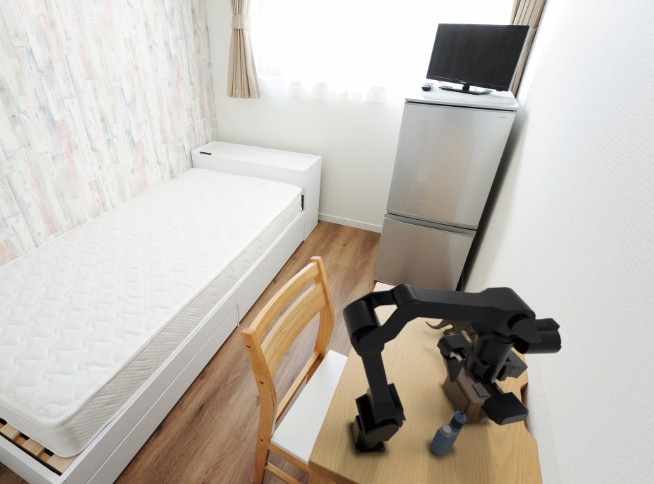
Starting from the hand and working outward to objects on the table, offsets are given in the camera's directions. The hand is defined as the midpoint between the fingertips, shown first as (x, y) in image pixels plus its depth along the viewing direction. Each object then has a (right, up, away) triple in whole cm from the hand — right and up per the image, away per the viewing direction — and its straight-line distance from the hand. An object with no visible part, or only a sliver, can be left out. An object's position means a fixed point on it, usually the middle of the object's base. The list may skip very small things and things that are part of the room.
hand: (465, 400), depth 72 cm
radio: (+7, -7, +14) cm, 17 cm away
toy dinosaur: (+16, +3, +33) cm, 37 cm away
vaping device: (-3, -13, +5) cm, 14 cm away
